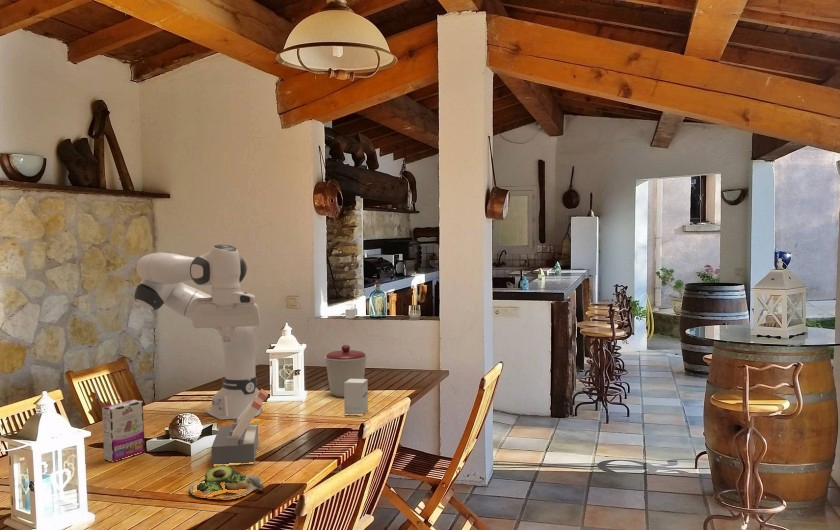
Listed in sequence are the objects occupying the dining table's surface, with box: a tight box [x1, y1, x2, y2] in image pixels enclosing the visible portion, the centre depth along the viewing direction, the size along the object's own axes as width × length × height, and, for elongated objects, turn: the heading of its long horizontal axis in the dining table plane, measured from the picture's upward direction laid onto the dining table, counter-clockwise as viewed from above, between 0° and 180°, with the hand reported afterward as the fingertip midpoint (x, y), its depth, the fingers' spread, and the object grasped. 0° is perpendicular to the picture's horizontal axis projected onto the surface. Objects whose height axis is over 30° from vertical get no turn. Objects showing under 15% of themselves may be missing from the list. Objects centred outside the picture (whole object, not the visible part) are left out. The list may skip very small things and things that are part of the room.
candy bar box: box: [101, 399, 146, 461], centre depth 211 cm, size 11×5×16 cm, turn 148°
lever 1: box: [236, 388, 269, 423], centre depth 220 cm, size 3×5×14 cm
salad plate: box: [188, 465, 266, 498], centre depth 184 cm, size 19×18×5 cm
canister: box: [323, 344, 368, 398], centre depth 290 cm, size 18×18×21 cm
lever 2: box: [232, 397, 263, 440], centre depth 206 cm, size 3×5×14 cm
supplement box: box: [343, 378, 369, 415], centre depth 259 cm, size 7×7×13 cm
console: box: [211, 417, 259, 466], centre depth 213 cm, size 12×23×8 cm, turn 10°
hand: (227, 341), depth 215 cm, fingers closed
